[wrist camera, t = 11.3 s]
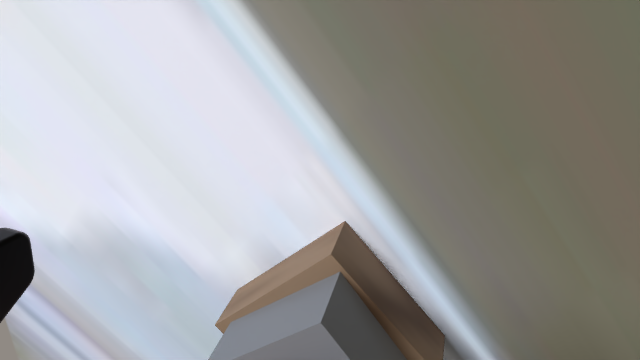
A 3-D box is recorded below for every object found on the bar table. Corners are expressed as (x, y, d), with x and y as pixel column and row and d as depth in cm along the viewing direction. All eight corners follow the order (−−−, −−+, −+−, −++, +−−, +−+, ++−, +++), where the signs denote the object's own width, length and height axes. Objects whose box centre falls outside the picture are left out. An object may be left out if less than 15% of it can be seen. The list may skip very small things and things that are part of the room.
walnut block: (445, 328, 25) (441, 378, 22) (331, 381, 28) (316, 429, 25) (347, 216, 23) (330, 254, 21) (240, 284, 27) (214, 325, 24)
